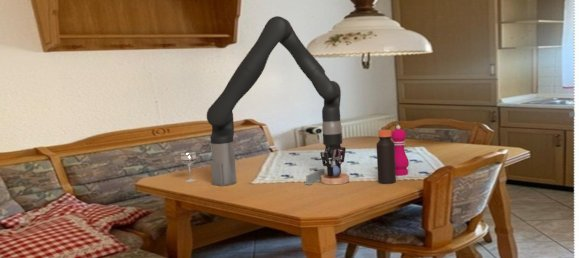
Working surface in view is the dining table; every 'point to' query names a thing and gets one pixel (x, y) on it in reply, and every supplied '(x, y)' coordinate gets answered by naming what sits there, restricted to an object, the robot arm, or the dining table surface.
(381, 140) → the bottle
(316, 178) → the fence
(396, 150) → the pepper mill
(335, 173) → the ball
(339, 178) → the bowl
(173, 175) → the dining table surface
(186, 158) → the wineglass
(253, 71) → the robot arm
